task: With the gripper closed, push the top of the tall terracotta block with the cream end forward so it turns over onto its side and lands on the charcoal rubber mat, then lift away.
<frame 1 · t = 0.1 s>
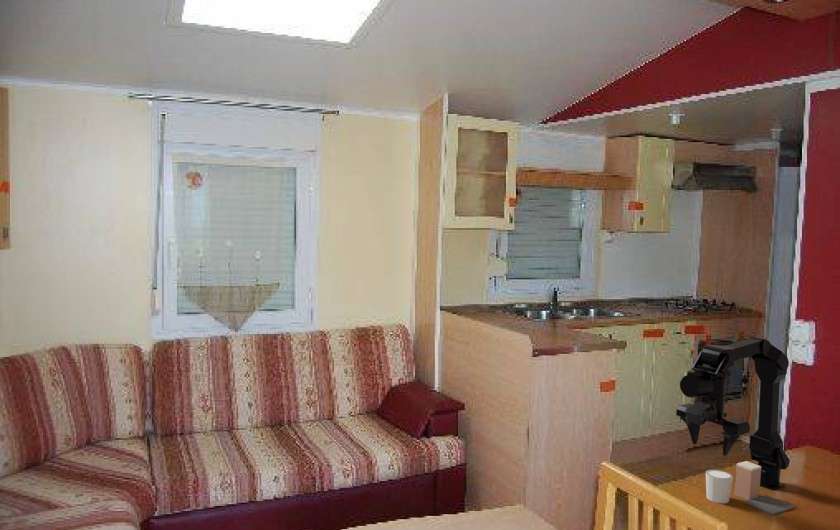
hand: (709, 449, 172), 15 cm above the table, fingers open, 9 cm apart
white cup: (717, 499, 176), on the table
block: (746, 496, 178), on the table
mat: (769, 505, 173), on the table
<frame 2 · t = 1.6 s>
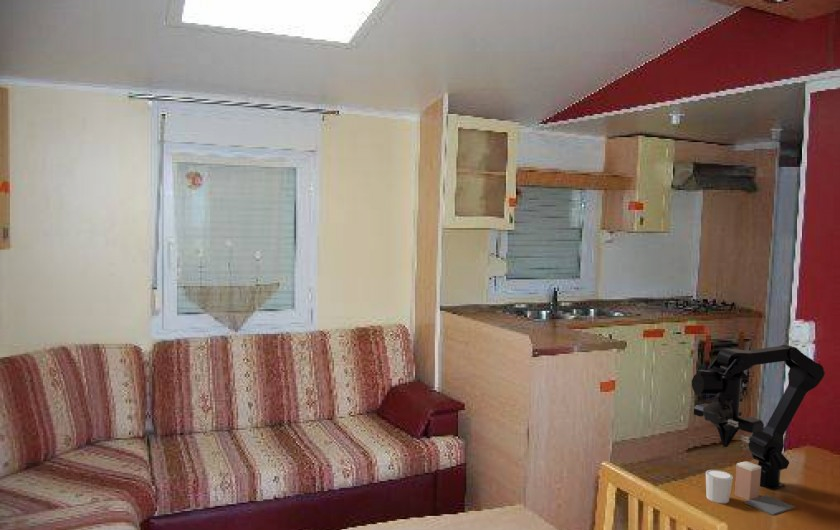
hand: (725, 446, 184), 12 cm above the table, fingers closed
nothing on the table moved.
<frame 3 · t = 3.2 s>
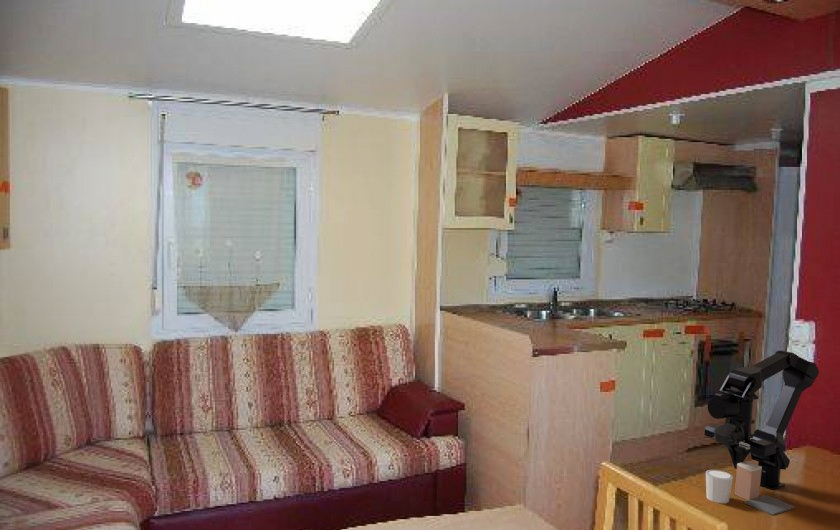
hand: (736, 468, 181), 7 cm above the table, fingers closed
block: (746, 496, 178), on the table, touching gripper
everything else where it was.
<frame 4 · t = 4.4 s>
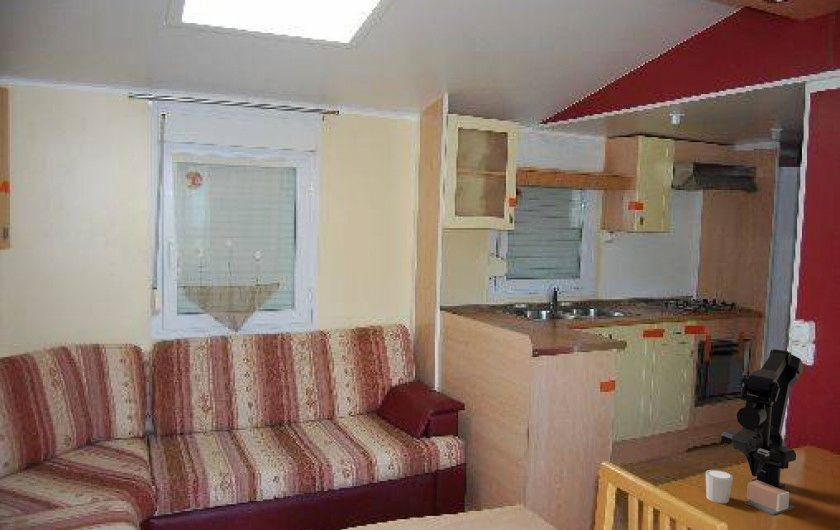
hand: (754, 475, 176), 7 cm above the table, fingers closed
block: (751, 489, 177), point 3 cm above the table, tilted 90°, touching mat
everything else where it was.
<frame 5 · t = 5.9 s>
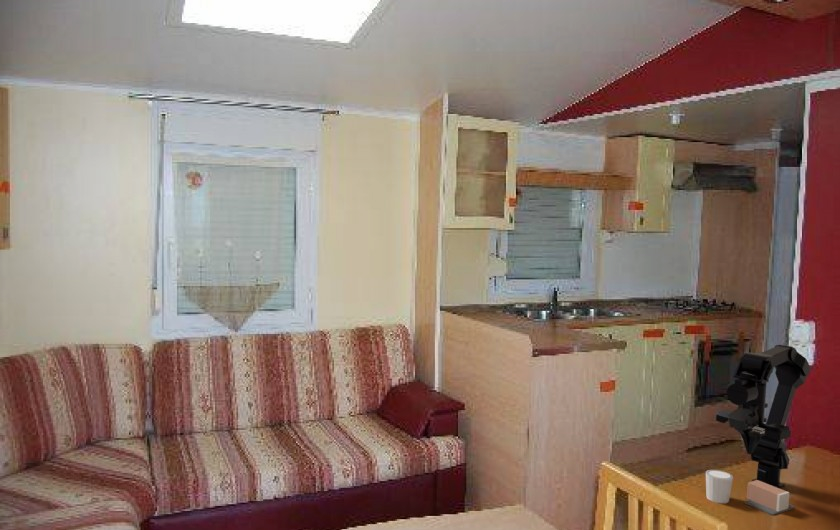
hand: (749, 453, 178), 12 cm above the table, fingers closed
nothing on the table moved.
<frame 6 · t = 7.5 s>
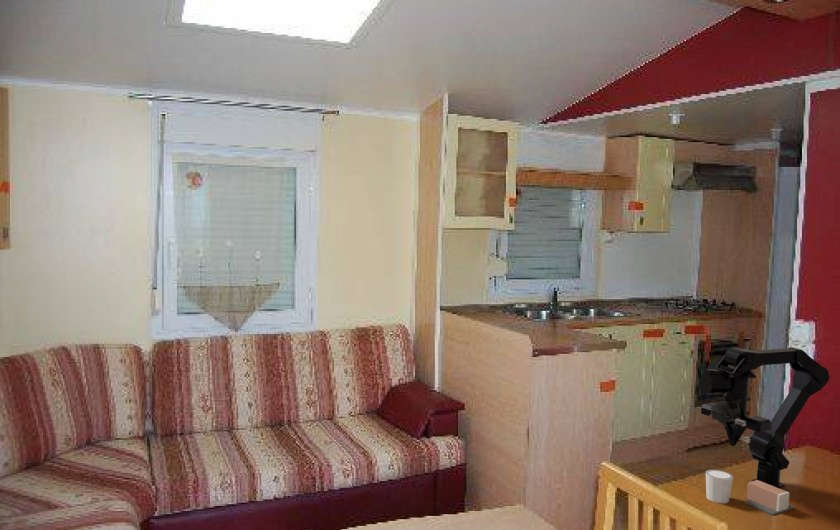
hand: (732, 445, 184), 12 cm above the table, fingers closed
nothing on the table moved.
at the end: block tilted 90°; block inside the target area on the mat (4.1 cm from its centre), point 2.6 cm above the mat's base; block touching mat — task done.
